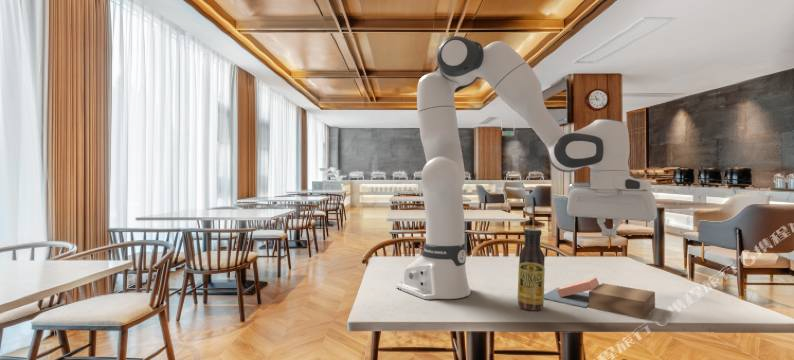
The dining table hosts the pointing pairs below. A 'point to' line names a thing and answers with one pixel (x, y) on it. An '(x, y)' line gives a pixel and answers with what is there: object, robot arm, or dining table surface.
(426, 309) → the dining table surface
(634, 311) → the block
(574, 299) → the mat
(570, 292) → the pink rectangular block
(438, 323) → the dining table surface
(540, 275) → the sauce bottle
